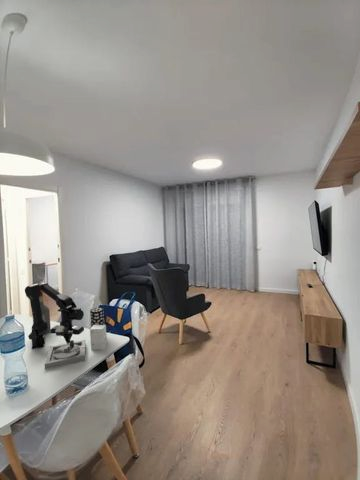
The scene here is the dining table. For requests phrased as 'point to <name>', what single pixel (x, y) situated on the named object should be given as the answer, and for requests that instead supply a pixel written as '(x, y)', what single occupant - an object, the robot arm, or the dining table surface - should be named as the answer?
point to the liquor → (45, 312)
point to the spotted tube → (97, 316)
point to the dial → (66, 351)
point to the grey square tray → (53, 362)
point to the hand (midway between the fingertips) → (68, 343)
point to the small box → (98, 337)
